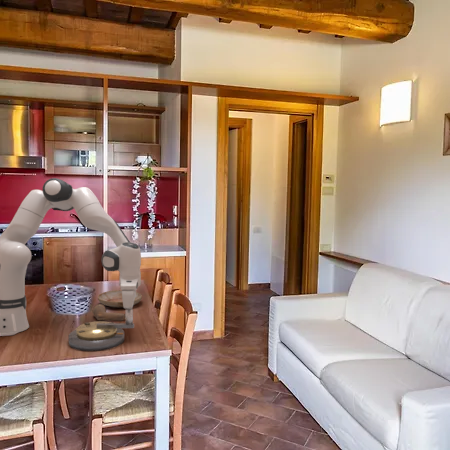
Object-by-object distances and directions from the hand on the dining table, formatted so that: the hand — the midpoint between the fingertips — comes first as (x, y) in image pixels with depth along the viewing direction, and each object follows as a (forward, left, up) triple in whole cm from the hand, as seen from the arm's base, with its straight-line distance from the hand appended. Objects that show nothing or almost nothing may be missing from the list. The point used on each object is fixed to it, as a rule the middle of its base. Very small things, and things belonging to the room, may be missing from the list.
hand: (129, 312), depth 186 cm
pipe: (-4, +26, -11) cm, 29 cm away
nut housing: (-14, -2, -10) cm, 17 cm away
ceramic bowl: (+6, +48, -10) cm, 50 cm away
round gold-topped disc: (-11, -3, -7) cm, 13 cm away
